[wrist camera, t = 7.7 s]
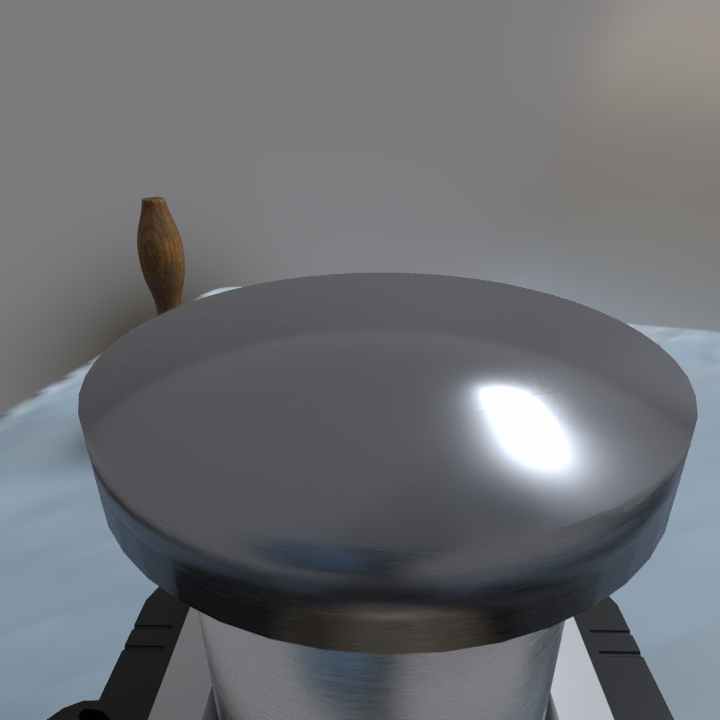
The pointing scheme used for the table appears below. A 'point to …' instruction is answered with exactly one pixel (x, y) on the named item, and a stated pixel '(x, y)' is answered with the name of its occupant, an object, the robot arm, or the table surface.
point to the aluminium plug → (386, 485)
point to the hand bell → (161, 254)
